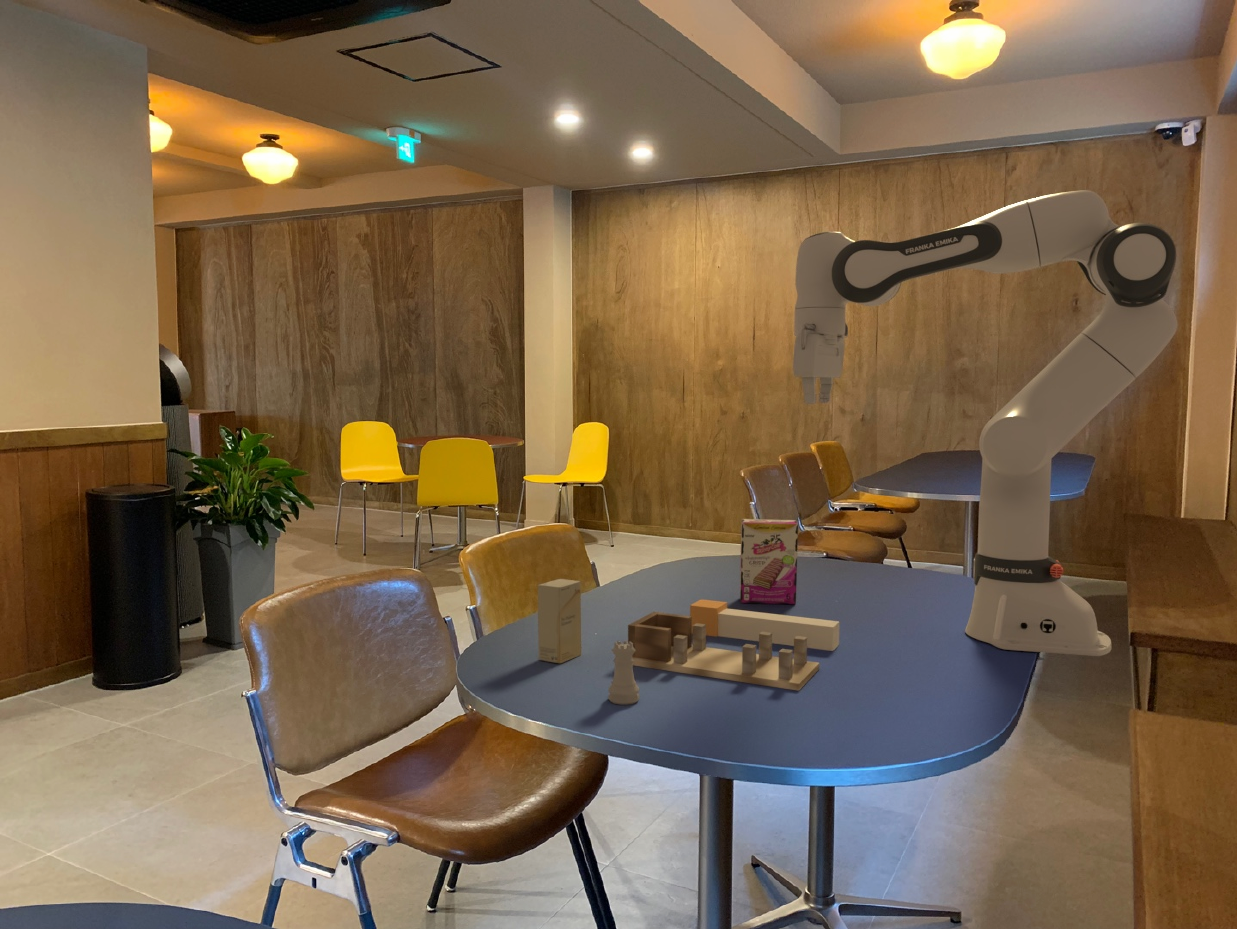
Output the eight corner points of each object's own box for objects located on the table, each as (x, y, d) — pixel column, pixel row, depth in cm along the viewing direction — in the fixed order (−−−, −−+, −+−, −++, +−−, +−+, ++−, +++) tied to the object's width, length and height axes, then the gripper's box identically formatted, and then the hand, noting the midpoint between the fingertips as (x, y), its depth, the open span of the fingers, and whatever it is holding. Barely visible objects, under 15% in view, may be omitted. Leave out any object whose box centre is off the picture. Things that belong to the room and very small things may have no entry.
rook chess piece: (615, 707, 122) (615, 649, 121) (602, 697, 126) (602, 641, 125) (645, 703, 124) (645, 645, 123) (631, 693, 128) (631, 637, 127)
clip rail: (819, 669, 138) (819, 630, 137) (799, 690, 128) (799, 649, 128) (652, 645, 151) (652, 610, 150) (622, 663, 141) (622, 626, 140)
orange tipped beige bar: (839, 644, 151) (840, 615, 151) (832, 652, 147) (832, 622, 147) (700, 626, 163) (700, 599, 162) (690, 633, 158) (690, 605, 158)
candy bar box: (740, 604, 179) (741, 522, 178) (739, 598, 184) (740, 518, 183) (797, 605, 178) (798, 522, 177) (795, 599, 183) (796, 519, 182)
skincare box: (559, 665, 141) (559, 587, 140) (537, 660, 143) (536, 584, 142) (582, 654, 146) (582, 580, 145) (560, 650, 148) (559, 577, 147)
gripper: (821, 321, 151) (819, 404, 152) (850, 328, 169) (848, 402, 170) (784, 322, 154) (783, 404, 155) (817, 329, 172) (815, 402, 173)
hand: (817, 403), depth 163 cm, fingers open, 8 cm apart
